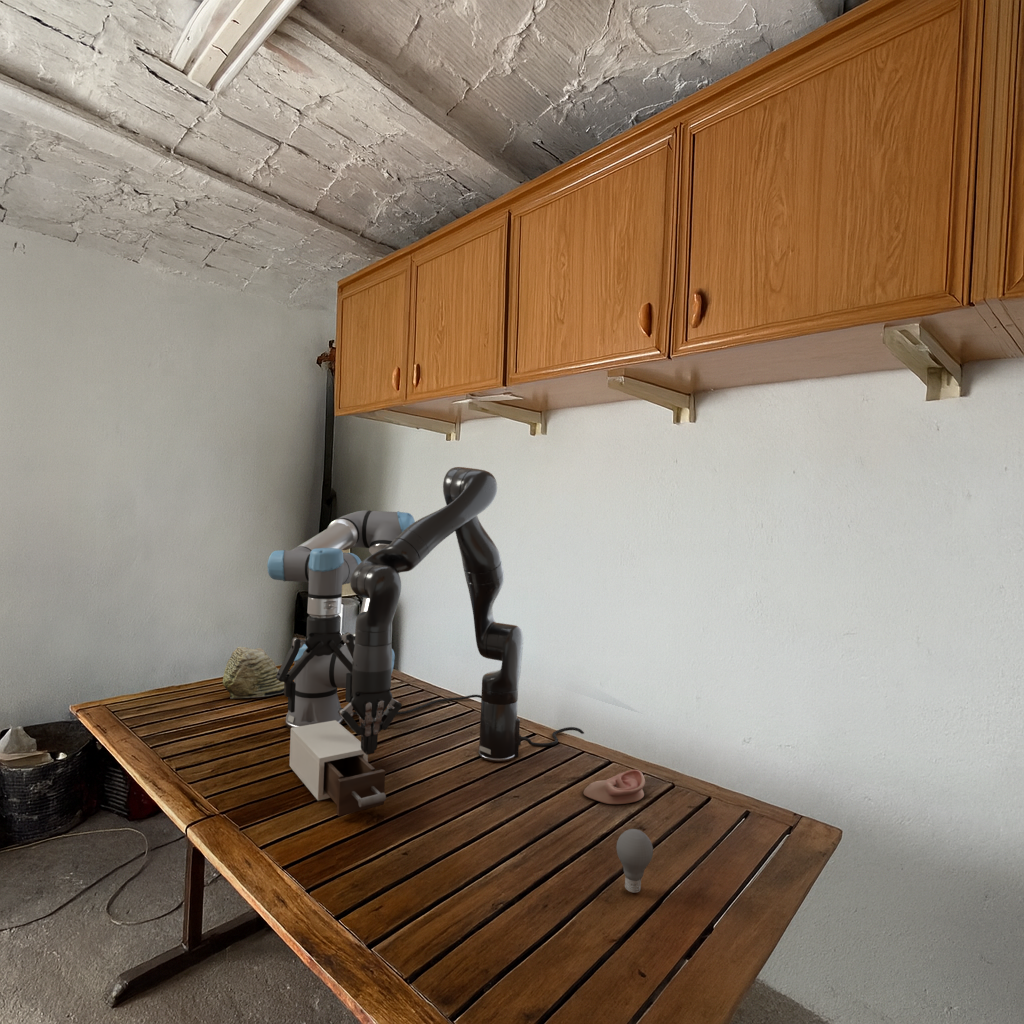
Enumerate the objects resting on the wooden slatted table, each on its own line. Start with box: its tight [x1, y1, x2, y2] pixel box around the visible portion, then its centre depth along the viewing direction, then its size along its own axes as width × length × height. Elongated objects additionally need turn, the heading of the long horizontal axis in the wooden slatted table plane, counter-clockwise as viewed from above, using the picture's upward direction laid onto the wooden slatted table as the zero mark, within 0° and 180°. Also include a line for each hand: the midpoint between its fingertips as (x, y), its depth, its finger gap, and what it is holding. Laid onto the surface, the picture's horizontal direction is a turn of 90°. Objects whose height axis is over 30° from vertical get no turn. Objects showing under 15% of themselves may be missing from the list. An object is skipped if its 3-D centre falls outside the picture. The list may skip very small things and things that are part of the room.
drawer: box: [323, 755, 387, 817], centre depth 132 cm, size 24×10×7 cm, turn 36°
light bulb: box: [615, 828, 654, 894], centre depth 106 cm, size 6×6×10 cm
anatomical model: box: [582, 769, 646, 805], centre depth 141 cm, size 13×4×12 cm
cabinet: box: [288, 720, 369, 802], centre depth 143 cm, size 20×11×9 cm, turn 36°
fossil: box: [222, 646, 284, 699], centre depth 198 cm, size 9×18×15 cm, turn 132°
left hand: (320, 706), depth 147 cm, fingers open, 13 cm apart
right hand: (368, 752), depth 125 cm, fingers closed
